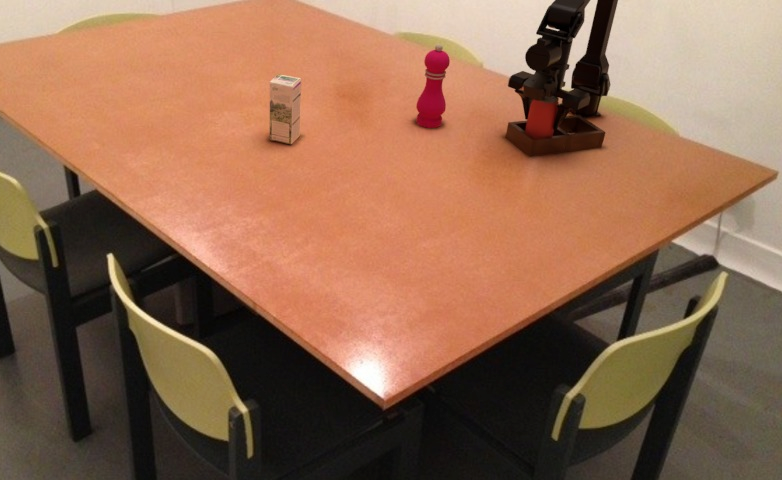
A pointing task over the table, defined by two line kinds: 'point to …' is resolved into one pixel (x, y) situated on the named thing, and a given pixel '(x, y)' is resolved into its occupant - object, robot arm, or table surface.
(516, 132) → the can rack
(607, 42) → the robot arm
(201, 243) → the table surface
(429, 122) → the pepper mill
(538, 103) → the beer can
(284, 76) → the syrup box
